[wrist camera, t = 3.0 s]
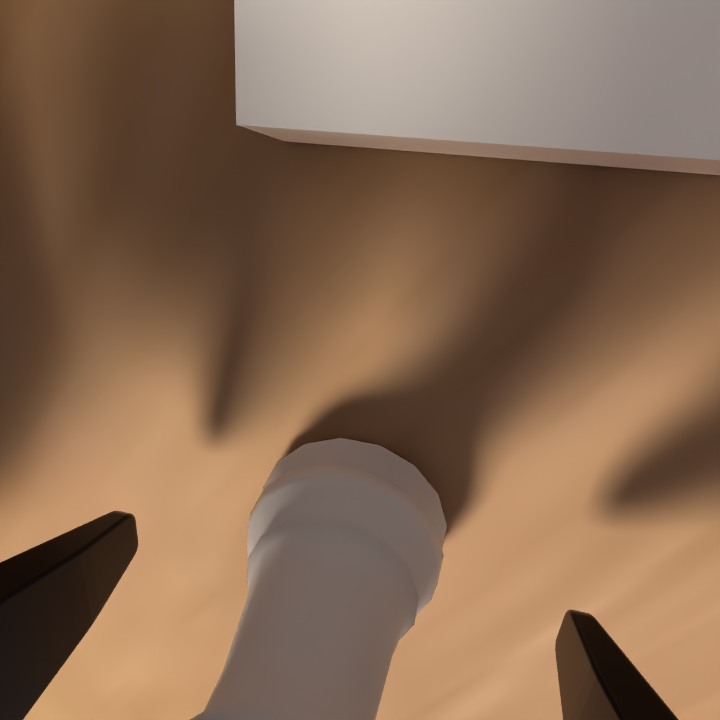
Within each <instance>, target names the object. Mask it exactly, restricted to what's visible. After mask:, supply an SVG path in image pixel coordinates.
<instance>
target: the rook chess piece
mask: <svg viewBox="0 0 720 720" xmlns="http://www.w3.org/2000/svg"><path fill="white" fill-rule="evenodd" d="M446 529H447V524H446V521H445V517H444V513H443V510H442V506H441V502H440V499H439V495H438V493H437V492H436V491H435V490H434V489H433V487H432V486H431V485H430V484H429V482H428V481H427V480H426V479H425V478H424V476H423V475H422V474H421V473H420V471H419V470H418V469H417V468H416V467H415V465H413V464H411V463H410V462H408V461H406V460H404V459H403V458H401V457H399V456H397V455H396V454H394V453H392V452H391V451H389V450H387V449H385V448H384V447H382V446H380V445H376V444H371V443H365V442H360V441H355V440H350V439H344V438H336V439H331V440H325V441H319V442H313V443H307V444H304V445H302V446H301V447H299V448H298V449H296V450H295V451H293V452H292V453H290V454H288V455H287V456H285V457H284V458H282V459H281V460H279V461H278V462H277V464H276V465H275V467H274V469H273V471H272V472H271V474H270V476H269V478H268V480H267V481H266V483H265V485H264V487H263V492H262V493H261V495H260V497H259V499H258V501H257V502H256V504H255V506H254V508H253V509H252V511H251V513H250V518H249V523H248V543H247V556H248V566H247V584H248V586H249V592H248V598H247V601H246V604H245V607H244V610H243V613H242V616H241V619H240V622H239V625H238V628H237V631H236V634H235V637H234V640H233V643H232V646H231V649H230V652H229V655H228V658H227V661H226V663H225V666H224V669H223V672H222V674H221V676H220V678H219V681H218V683H217V685H216V687H215V689H214V691H213V693H212V695H211V697H210V699H209V702H208V704H207V706H206V708H205V710H204V712H202V713H200V714H199V715H197V716H195V717H194V718H192V719H190V720H375V718H376V715H377V711H378V707H379V703H380V700H381V696H382V692H383V688H384V685H385V681H386V677H387V673H388V670H389V666H390V662H391V658H392V655H393V653H394V650H395V648H396V646H397V644H398V641H399V640H400V639H401V638H402V637H403V636H404V635H405V634H406V632H407V631H408V630H409V629H410V628H411V627H412V626H413V625H414V622H415V617H416V615H417V614H418V613H419V612H420V611H421V610H422V609H423V608H424V607H425V605H426V604H427V603H428V602H429V601H430V600H431V599H432V596H433V594H434V591H435V589H436V586H437V582H438V578H439V574H440V569H441V565H442V560H443V556H444V555H443V552H442V547H443V543H444V538H445V534H446Z"/></svg>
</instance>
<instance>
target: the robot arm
mask: <svg viewBox="0 0 720 720" xmlns="http://www.w3.org/2000/svg"><path fill="white" fill-rule="evenodd" d="M137 548H138V536H137V528H136V520H135V517H134V516H133V514H130V513H126V512H121V511H113V512H110V513H108V514H106V515H104V516H101V517H99V518H97V519H95V520H93V521H90V522H88V523H86V524H84V525H82V526H79V527H77V528H75V529H73V530H71V531H69V532H66V533H64V534H62V535H60V536H58V537H55V538H53V539H51V540H49V541H47V542H44V543H42V544H40V545H38V546H36V547H33V548H31V549H29V550H27V551H25V552H23V553H20V554H18V555H16V556H14V557H12V558H9V559H7V560H5V561H3V562H1V563H0V720H23V719H24V718H25V716H26V715H27V713H28V712H29V711H30V709H31V708H32V707H33V705H34V704H35V703H36V701H37V700H38V698H39V697H40V696H41V694H42V693H43V692H44V690H45V689H46V687H47V686H48V685H49V683H50V682H51V681H52V679H53V678H54V677H55V675H56V674H57V672H58V671H59V670H60V668H61V667H62V666H63V664H64V663H65V661H66V660H67V659H68V657H69V656H70V655H71V653H72V652H73V651H74V649H75V648H76V646H77V645H78V644H79V642H80V641H81V640H82V638H83V637H84V635H85V634H86V633H87V631H88V630H89V628H90V627H91V626H92V624H93V623H94V621H95V619H96V618H97V616H98V615H99V613H100V612H101V610H102V608H103V607H104V605H105V603H106V602H107V600H108V598H109V597H110V595H111V593H112V592H113V590H114V589H115V587H116V585H117V584H118V582H119V580H120V579H121V577H122V575H123V574H124V572H125V570H126V569H127V567H128V565H129V564H130V562H131V560H132V559H133V557H134V555H135V553H136V551H137ZM555 651H556V661H557V670H558V678H559V687H560V696H561V705H562V713H563V720H678V718H677V717H676V716H675V715H674V714H673V712H672V711H671V710H670V709H669V707H668V706H667V705H666V704H665V703H664V701H663V700H662V699H661V698H660V696H659V695H658V694H657V693H656V692H655V690H654V689H653V688H652V687H651V686H650V684H649V683H648V682H647V681H646V679H645V678H644V677H643V676H642V675H641V673H640V672H639V671H638V670H637V668H636V667H635V666H634V665H633V664H632V662H631V661H630V660H629V659H628V658H627V656H626V655H625V654H624V653H623V651H622V650H621V649H620V648H619V647H618V645H617V644H616V643H615V642H614V640H613V639H612V638H611V637H610V636H609V634H608V633H607V632H606V631H605V630H604V628H603V627H602V626H601V625H600V623H599V622H598V621H597V620H596V619H595V618H594V617H593V616H592V615H591V614H589V613H585V612H580V611H576V610H568V611H567V612H566V614H565V616H564V619H563V622H562V624H561V627H560V630H559V633H558V636H557V639H556V646H555Z"/></svg>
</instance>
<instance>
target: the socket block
mask: <svg viewBox="0 0 720 720" xmlns="http://www.w3.org/2000/svg"><path fill="white" fill-rule="evenodd" d="M234 12H235V79H236V125H238V126H241V127H244V128H247V129H250V130H253V131H256V132H259V133H262V134H264V135H267V136H270V137H273V138H276V139H279V140H282V141H286V142H299V143H312V144H325V145H337V146H350V147H363V148H376V149H389V150H402V151H415V152H427V153H440V154H453V155H466V156H479V157H492V158H504V159H517V160H530V161H543V162H556V163H569V164H582V165H594V166H607V167H620V168H633V169H646V170H659V171H671V172H684V173H697V174H710V175H720V0H234Z"/></svg>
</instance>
